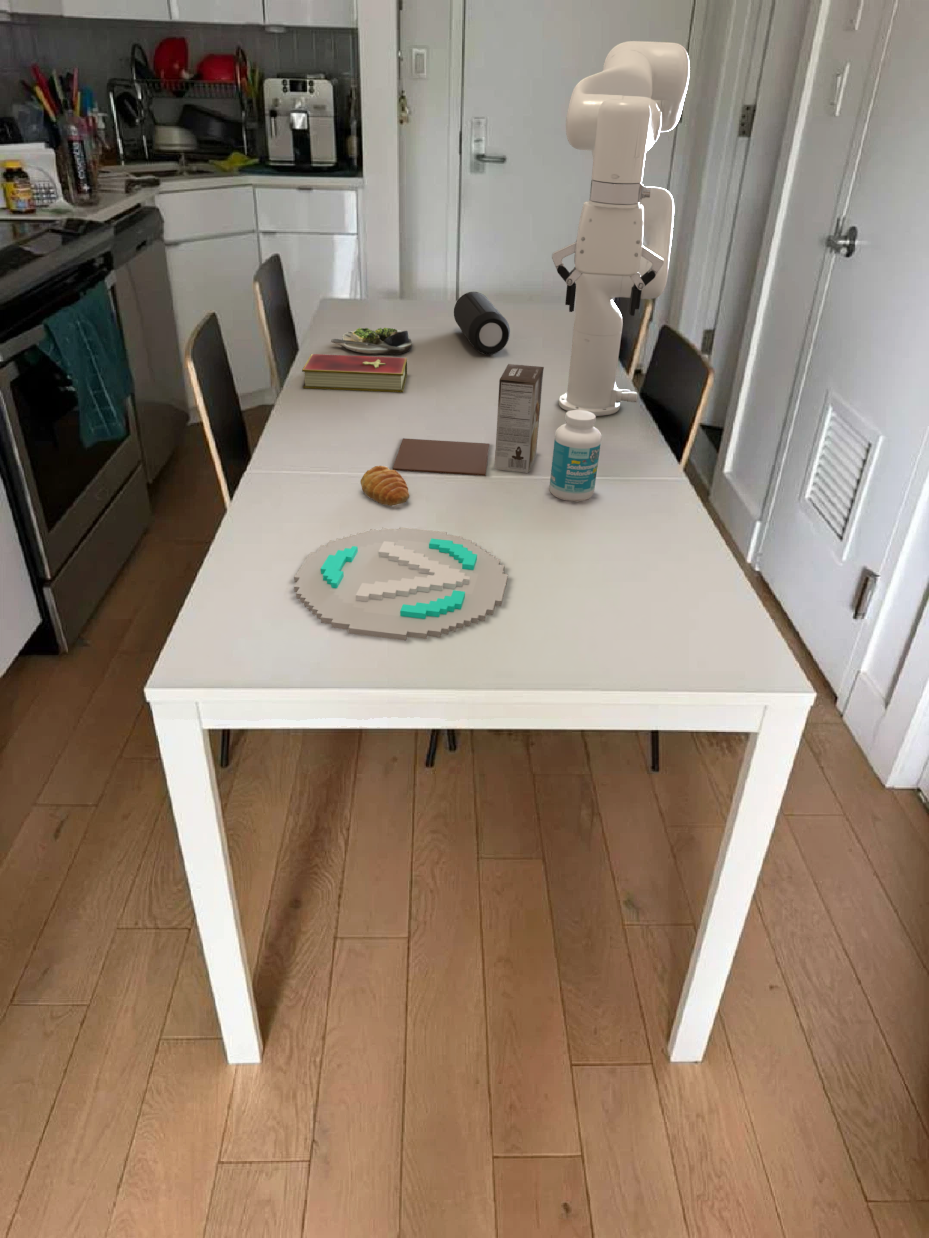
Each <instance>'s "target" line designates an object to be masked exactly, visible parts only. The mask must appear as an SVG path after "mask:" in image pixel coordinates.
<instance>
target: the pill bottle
mask: <svg viewBox="0 0 929 1238" xmlns="http://www.w3.org/2000/svg"><path fill="white" fill-rule="evenodd" d="M596 417H597V416H595V415H594V414H593V413H591V412H588V411H584V410H571V411H566V413H565V418H564V422H565V423H564V424H562V425H560V426H559V427H558V428H557V429H556V430H555V433H554V441H553V451H552V459H551V469H550V478H549V492H550V493H551V494H552V496H554V497H556V498H558V499H560V500H563V501H568V502H582V501H587V500H588V499H590V498H591V497H593V495H594V494H595V489H596V483H597V482H596V481H597V475H598V467H599V461H600V460H599V459H600V452H601V444H602V434H601V431H600V430H599V429H598V428H597V427H595V424H596Z"/></svg>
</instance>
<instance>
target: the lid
mask: <svg viewBox="0 0 929 1238" xmlns="http://www.w3.org/2000/svg"><path fill="white" fill-rule="evenodd" d="M504 572H505V564H501V558H496V555H492V554H491V552H489V551H487V549H486V548H482V546H481V545H477V542H473V539H467V538H463V536H462V535H453V534H448V532H447V531H441V530H430V529H422V528H412V527H402V526H399V527H398V529H397V528H389V527H382V528H381V529H377V528H375V529H374V528H370V529H369V530H364V531H363V532H356V534H350V535H349V536H343V537H342V538H339V537H338V538H336V539H335V540H332V539H330V540H329V541H328V543H327V544H320V546H319V547H318V549H317V550H316V552H314V551H310V552H309V554H308V555H307V556H306V558H305V560H304V561H303V563H302V564H301V566H300V567H299V569H298V570H297V572H296V573H295V575H294V576H293V580H294V583H295V584H294V586H293V589H294V593H295V598H296V600H299V601H300V603H301V604H303V605H304V607H305V608H306V607H307V609H308V612H309V611H311V612H312V615H314V616H316V619H317V620H318V619H319V620H320V623H321V624H330V625H331V628H332V629H340V630H348V634H352V635H358V636H367V637H374V638H375V637H376V638H383V639H390V640H391V639H392V640H397V641H399V640H400V641H407V639H408V638H414V639H422V640H427V638H428V636H429V637H436V638H441V636H442V635H449V632H457V629H459V630H463V629H464V627H471V624H476V625H477V624H478V622H479V621H481V622H485V620H486V617H487V615H488V616H493V614H494V611H495V607H502V604H503V601H504V596H505V592H506V588H507V584H508V579H509V574H508V573H504Z"/></svg>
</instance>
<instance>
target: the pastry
mask: <svg viewBox="0 0 929 1238" xmlns="http://www.w3.org/2000/svg"><path fill="white" fill-rule="evenodd" d="M360 486H361V490H362V492H363V494H365V495H366V496H367V497H368V498H369V499H372V500H373V501H374V502H377V504H380V505H382V506H383V505H384V506H389V507H394V506H397V505H402V504H405V503H407V502H408V500H409V498H410V493H409V487H408V485H407V482H406V480H405V478H404V477H403V475H401V474H400V473H399V471H397V470H392V469H390V468H389V467H388V466H386V465H376V466H375V465H374V466H373V467H371V468H370V469H367V470H366V471H365V472H364V474H363V475H362V476H361V479H360Z"/></svg>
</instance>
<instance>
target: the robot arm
mask: <svg viewBox="0 0 929 1238" xmlns="http://www.w3.org/2000/svg"><path fill="white" fill-rule="evenodd" d="M603 62H604V63H603V66H602V70H601V71H599V72H597V73H594V74H591V75H588V76H586V77H584V78H582V79H580V81H578V82H577V83H576V85H575V86H574V87H573V90H572V92H571V95H570V99H569V103H568V107H567V111H566V118H565V134H566V135H565V136H566V138H567V141H568V143H569V145H570V146H571V147H572V148H573V149H575V150H579V151H589V152H590V151H591V155H592V170H591V179H590V188H589V189H590V190H589V197H588V201H584V202H583V204H582V208H581V212H580V216H579V222H578V227H577V233H576V241H575V242H572V243H571V244H568V245H565V246H564V247H562V248H560V249H557V250H556V251H554V252H552V254H551V259H552V262H553V265H554V267H555V269H556V272H557V274H558V275H559V277H560V278H562V280H563V281H564V282H565V284H566V292H565V300H564V301H565V302H564V303H565V306H568V312H569V313H573V312H574V320H573V322H574V323H573V330H572V331H573V332H572V340H571V350H570V358H569V359H570V360H569V361H570V362H569V371H568V380H567V390H566V392H565V393H563V394H561V395H560V396H559V397H558V405H559V407H560V408H561V409H562V410H564V411H566V412H568V411H571V410H584V411H588V412H591V413H593V414H594V415H595V416H596V417H602V416H609V415H613V414H616V413H617V412H618V411H619V410H620V409H621V408H620V407H621V402H630V403H637V398H638V392H636V391H631V390H630V389H625V388H624V389H620V388H619V387H617V383H616V379H617V371H618V363H619V356H620V349H621V340H622V334H623V327H624V325H623V324H624V323H623V321H624V320H623V316H622V313H621V311H620V309H619V308H618V306H617V305H616V303H615V302H614V300H613V298H627V299H629V306H628V314H629V315H630V316H632V317H634V316H635V313H636V310H640V306H641V300H653V299H657V298H659V297H661V295H662V294H663V293H664V291H665V289H666V286H667V281H668V277H669V268H670V258H671V250H672V249H671V248H672V240H673V231H674V229H673V228H674V219H675V217H674V216H675V202H674V198H673V195H672V194H671V192H670V191H669V190H667V189H666V188H663V187H658V186H646V185H645V186H644V184H643V178H644V169H645V163H646V162H645V161H646V154H647V152H648V151H649V150H650V149H651V148H652V147H653V146H654V144H655V143H656V142H657V141H658V139H659V137H660V135H661V133H666V132H670V131H672V130H673V129H675V127H676V126H677V125H678V123H679V121H680V119H681V115H682V111H683V107H684V102H685V98H686V94H687V91H688V86H689V81H690V73H691V72H690V71H691V70H690V68H691V67H690V58H689V55H688V51H687V50H686V48H685V47H684V46H683V45H682V44H680V43H678V42H670V41H669V42H667V41H647V40H628V41H623V42H621V43H618V44H616V45H614V47H612V48H611V50H609V52H608V53H607V55H606V57H605V60H604V61H603ZM573 254H574V259H573V262H574V267H573V268H572V269H571V270H570V271H569V270H568V269H567V267H566V266H565V265H564V263H563V259H565V258H567V257H568V256H570V255H573Z"/></svg>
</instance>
